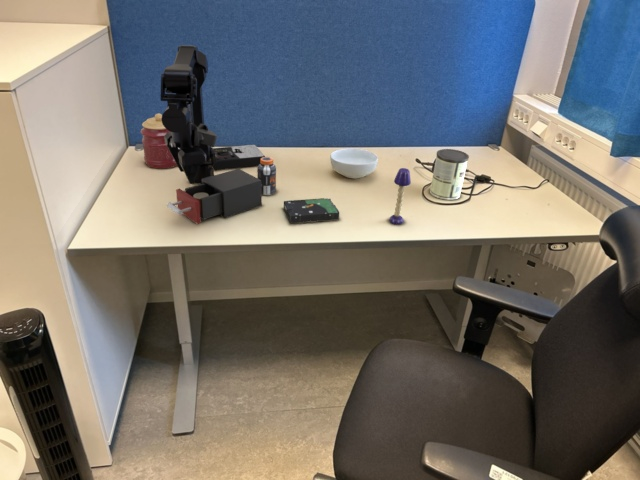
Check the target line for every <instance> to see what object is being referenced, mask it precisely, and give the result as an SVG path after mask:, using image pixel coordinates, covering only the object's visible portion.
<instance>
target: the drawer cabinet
mask: <svg viewBox="0 0 640 480" xmlns="http://www.w3.org/2000/svg"><path fill="white" fill-rule="evenodd" d="M203 183H206V184H208V185H210V186H211V187H213V188H215V189H216V190H218V191H220V192H221V193H222V195H223V213H222V214H219V216H220V217H222V218H224V219H226V218H229V217H233V216H235V215H238V214H241V213H244V212H247V211H250V210H253V209H255V208H259V207H262V198H263V197H262V196H263V194H262V183H261V180H260V179H258V178H257V177H256V176H254V175H253V174H250V173H249V172H246V171H244V170H243V169H241V168H235V169H231V170H229V171H225V172H222V173H218V174H214V176H210V177H206V178H203V179H202V184H203Z"/></svg>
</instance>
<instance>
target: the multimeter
mask: <svg viewBox="0 0 640 480" xmlns="http://www.w3.org/2000/svg"><path fill="white" fill-rule="evenodd" d="M213 150H214V152H215V155H216V164H214V165H213V166H212V167H213V168H214V171H224V170H225V171H226V170H236V169H243V168H252V167H253V168H255V167H258V165H259V164H261V163H260V160H261V158H263V157H266V155H265V154H264V153H263V152H262V151H261V150H260V149H259V148H258V146H257V145H255V144H247V145H237V146H235V145H234V146H225V147H224V146H223V147H213ZM210 159H211V158H210Z"/></svg>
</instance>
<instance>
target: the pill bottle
mask: <svg viewBox="0 0 640 480" xmlns="http://www.w3.org/2000/svg"><path fill="white" fill-rule="evenodd" d="M260 163H261V164H259V165H258V166H257V167H256V168H257V172H256V173H257V175H256V176H257V177H256V178H258V179H260V180H261V183H262V196H263V195H264V196H269V195H270V196H271V195H274V194H276V192H277V166H276V165H275V164H274V158H273V157H270V156H265V157H263V158H261V160H260Z"/></svg>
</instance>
